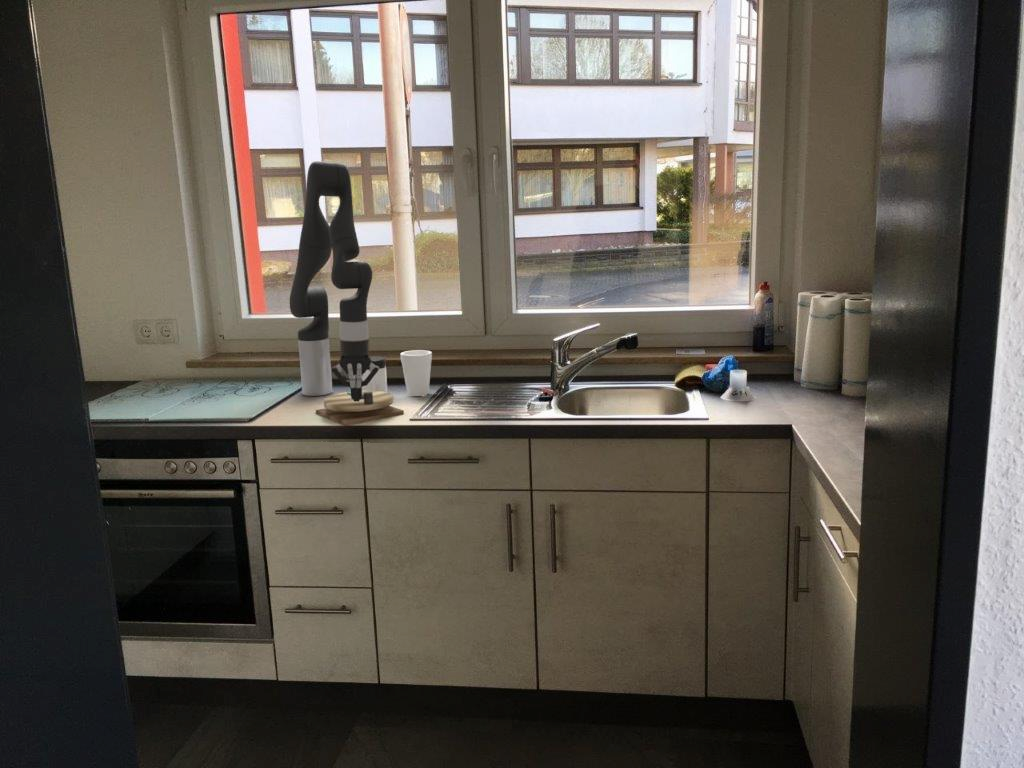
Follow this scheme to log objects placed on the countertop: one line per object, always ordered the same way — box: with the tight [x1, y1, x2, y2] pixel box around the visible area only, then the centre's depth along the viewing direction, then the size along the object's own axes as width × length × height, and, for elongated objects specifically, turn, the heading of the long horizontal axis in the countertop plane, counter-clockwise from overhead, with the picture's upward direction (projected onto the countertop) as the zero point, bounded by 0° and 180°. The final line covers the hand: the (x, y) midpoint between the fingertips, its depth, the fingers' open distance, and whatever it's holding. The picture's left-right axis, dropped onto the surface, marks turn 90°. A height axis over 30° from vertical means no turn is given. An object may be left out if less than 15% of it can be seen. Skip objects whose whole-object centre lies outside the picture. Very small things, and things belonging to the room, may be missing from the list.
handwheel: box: [323, 391, 394, 412], centre depth 232 cm, size 19×19×4 cm
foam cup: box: [400, 349, 433, 397], centre depth 254 cm, size 10×9×13 cm
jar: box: [362, 356, 388, 393], centre depth 251 cm, size 9×8×12 cm
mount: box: [315, 405, 405, 426], centre depth 233 cm, size 18×18×3 cm
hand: (356, 400), depth 224 cm, fingers closed
